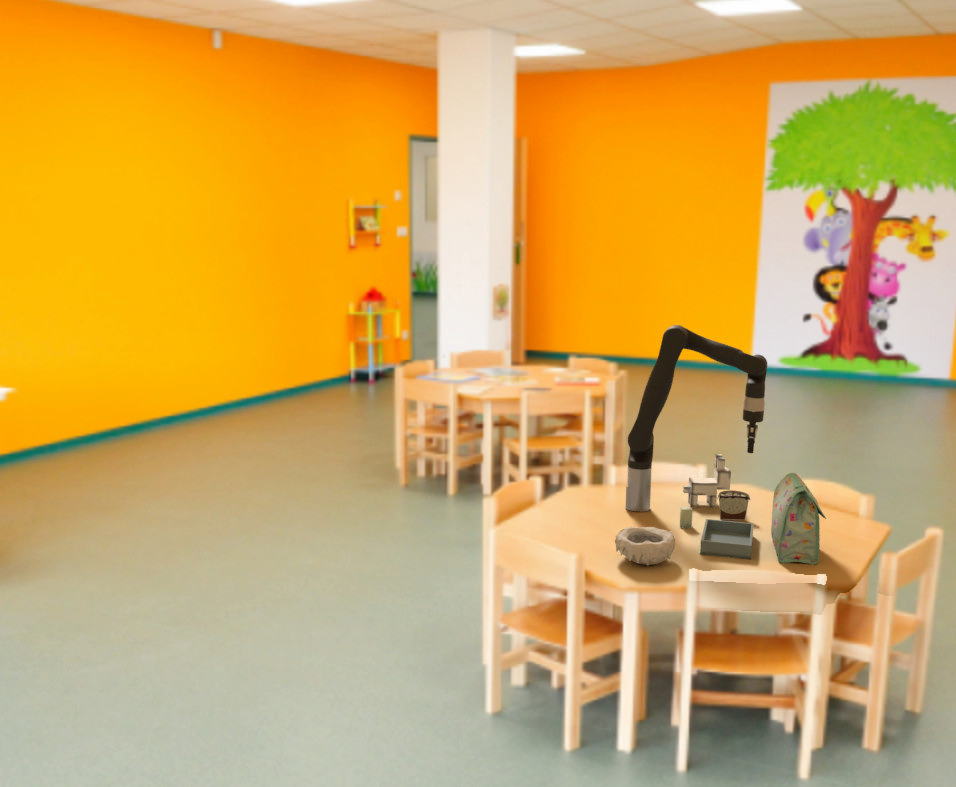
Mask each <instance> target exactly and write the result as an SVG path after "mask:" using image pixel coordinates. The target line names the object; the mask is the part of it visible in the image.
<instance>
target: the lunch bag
mask: <svg viewBox="0 0 956 787" xmlns="http://www.w3.org/2000/svg"><path fill="white" fill-rule="evenodd" d="M819 505H820V504H819V502H818V499H817V498H816V497H815V495H814V494H813V493H812V491H811V490H810V488H809V487H808V486H807V484H806V483H805V481H804V480H803V479H802V477H800V476H799V475H798V474H797V473H796V472H790V473H787V474H786V475H785V476H784V477H783V478H782V479H781V480H780V481H779V482H778V484H777V485H776V486H775V489H774V492H773V498H772V512H771V526H770V527H771V528H770V535H771V538H772V544H773V547H774V549H775V553H776V557H777V561H778V563H783V564H785V563H789V564H790V563H797V562H799V563H801V564H803V563H804V564H808V565H812V564H813V565H817V564H818V563H819V557H820V540H821V539H820V536H821V534H820V516H821V517H823V518H824V519H825V520H826V519H827V517H826V516H825V514H824V513H823V511H822V509H821V508H820V506H819ZM813 565H812V566H813Z"/></svg>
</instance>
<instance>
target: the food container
mask: <svg viewBox="0 0 956 787" xmlns="http://www.w3.org/2000/svg"><path fill="white" fill-rule="evenodd" d="M717 500H718V501H719V502H718V503H719V520H723V521H746V517H747V513H748V512H747V511H748V505H749V501H751V497H750V494H749V493H747V492H745V491H741V490H731V489H730V490H723V491H720V492H719V493H718V494H717Z"/></svg>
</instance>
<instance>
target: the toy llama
mask: <svg viewBox="0 0 956 787" xmlns="http://www.w3.org/2000/svg"><path fill="white" fill-rule="evenodd" d="M723 456H724V455H723V454H721V453H715V454H714V471H713V477H688V485H686V484H684V485H682V486H683V487H682V489H683V490H682V492H683V494H687V503H688V504H689V507H690V508H698V500H699V499H698V498H699V496H706V503H707V504H708V507H709V508H717V503H718V502H717V500H718V499H717V498H718V491H719V490H723V491H728V490H731V478H732V471H731V470H730V468H729V467H728V466H726V458H725V457H723Z"/></svg>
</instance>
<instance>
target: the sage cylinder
mask: <svg viewBox="0 0 956 787" xmlns="http://www.w3.org/2000/svg"><path fill="white" fill-rule="evenodd" d="M679 514H680V515H679V528H682V529H691V528H692V526H693V525H692V524H693V507H691V506H681V507H680V513H679Z"/></svg>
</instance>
